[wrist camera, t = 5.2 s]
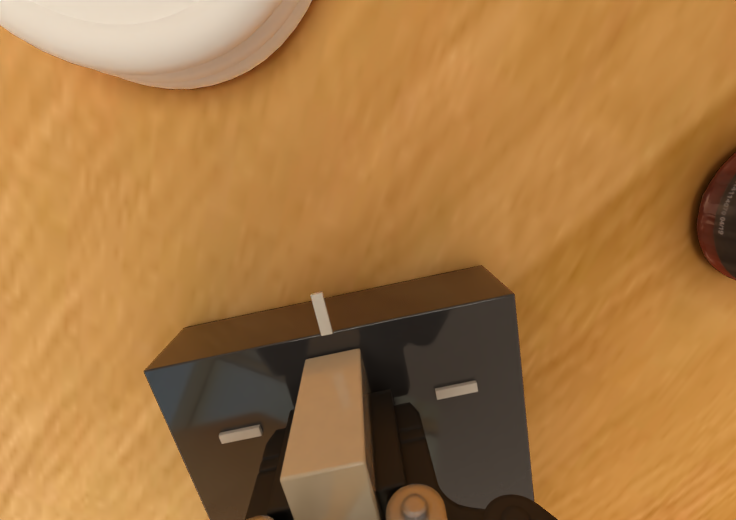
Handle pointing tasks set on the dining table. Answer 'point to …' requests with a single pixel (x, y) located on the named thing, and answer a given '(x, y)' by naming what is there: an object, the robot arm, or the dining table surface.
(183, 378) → the hob
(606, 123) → the dining table surface
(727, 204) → the supplement bottle
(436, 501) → the robot arm
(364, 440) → the knob
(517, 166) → the dining table surface
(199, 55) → the white short ridged cylinder
